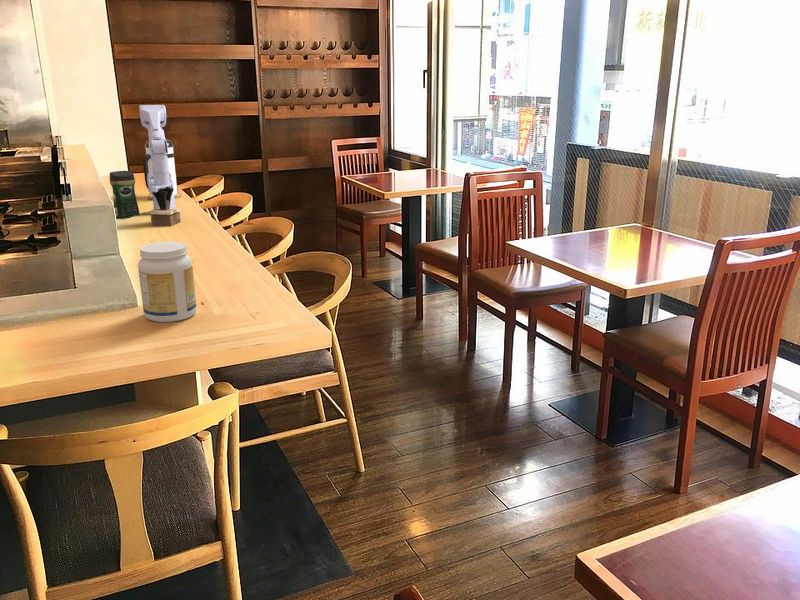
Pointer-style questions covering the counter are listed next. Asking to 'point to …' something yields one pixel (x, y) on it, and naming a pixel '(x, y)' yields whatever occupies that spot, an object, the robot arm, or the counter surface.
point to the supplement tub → (166, 282)
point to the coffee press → (171, 165)
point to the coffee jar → (124, 194)
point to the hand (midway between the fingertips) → (164, 208)
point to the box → (165, 219)
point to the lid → (165, 210)
